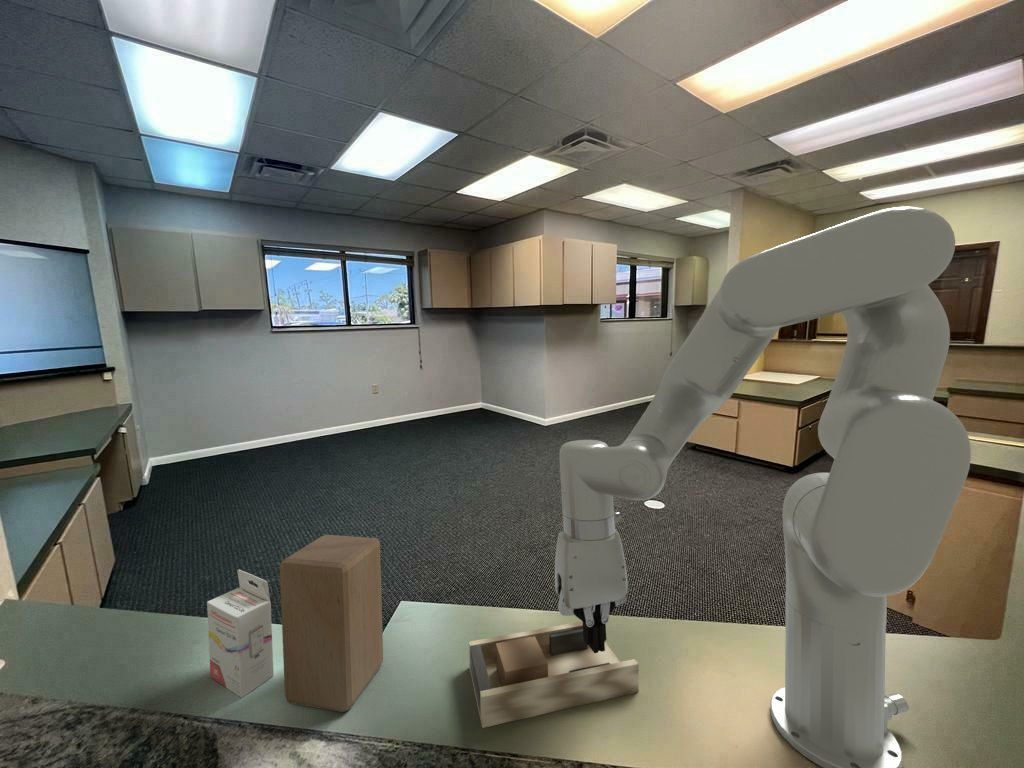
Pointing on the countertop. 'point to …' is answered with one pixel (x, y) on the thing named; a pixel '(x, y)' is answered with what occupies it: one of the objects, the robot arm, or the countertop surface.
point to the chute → (549, 676)
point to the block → (331, 621)
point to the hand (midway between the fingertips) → (595, 646)
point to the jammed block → (520, 661)
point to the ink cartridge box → (241, 636)
